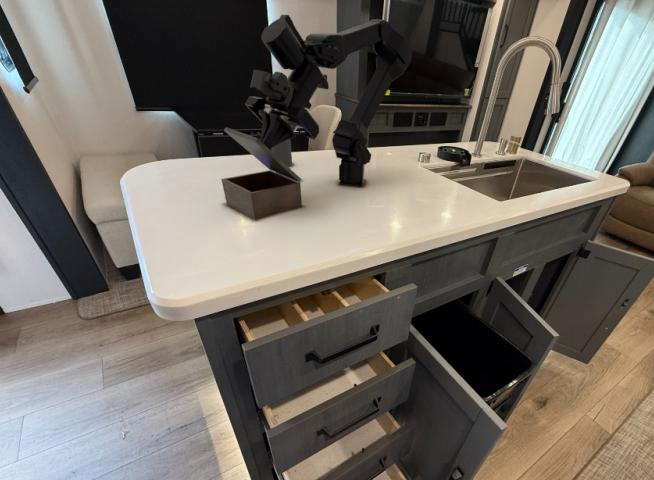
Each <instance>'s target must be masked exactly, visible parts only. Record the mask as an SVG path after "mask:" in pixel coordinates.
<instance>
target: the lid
mask: <svg viewBox="0 0 654 480" xmlns="http://www.w3.org/2000/svg"><path fill="white" fill-rule="evenodd" d="M223 131H224V132H225V133H226V134H227V135H228V136H230V137H231V138H232V139H233V140H234V141H236V143H238V144H239V145H240V146H241V147H242V148H244V149H245V150H246V151H247V152H248V153H249V154H251V155H252V156H253V157H254V158H255V159H257V161H259V162H260V163H261V164H262V165H263V166H265V168H267V169H268V170H271V171H274V172H277V173H279V174H282V175H284V176H286V177H289V178H291V179H294V180H296V181H298V182H301V180H302V178H301V177H300V176H299V175H298V174H296V172H294V171H293V170H292V169H291V168H290V166H289V167H288V166H287V165H286V164H285V163H283V162H282V161H281V160H280V159H279V158H278V157H277V156H276V155H275V154H274V153H273V152H272V150H271V149H268V148H267V147H266V146H265V145H264V144H263V143H262V142H261V141H260V138H258V137H255V136H252V135H249V134H247V133H244V132H240V131H239V130H235V129H233V128H230V127H225V128H224V130H223ZM298 176H299V177H298Z"/></svg>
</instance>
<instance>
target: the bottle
mask: <svg viewBox="0 0 654 480" xmlns="http://www.w3.org/2000/svg"><path fill="white" fill-rule="evenodd" d="M270 150H271V151H272V152H273V153H274V154H275V155H276V156H277V157H278V158H279V159H280V160H281V161H282V162H283V163H285V164H286V165H287V166H288V167H289V168H290V167H292V166H293V158H292V157H293V156H292V155H293V154H292V142H291V138H290V139H288V140H286V141H284V142H282V143H280V144H278V145H276V146H274V147H272V148H271V149H270Z"/></svg>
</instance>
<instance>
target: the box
mask: <svg viewBox="0 0 654 480" xmlns="http://www.w3.org/2000/svg"><path fill="white" fill-rule="evenodd" d="M240 175H241V176H240ZM240 175H235V176H231V177H223V178H221V185H222V189H223V195H224V198H225V202H226V205H227V206H230V208H232V209H234V210H236V211H238V212H240V213H242V215H243V214H244V216H246V217H249V218H250V219H252V220H253V221H257V220H260V219H265V218H268V217H271V216H274V215H275V216H276V215H278V214H283V213H285V212H289V211H292V210H295V209H299V208H302V207H303V200H302V187H301V186H302V185H301V181H299V182H298V181H295V180H293V179H291V178H288V177H286V176H283V175H281V174H279V173H276V172H274V171H272V170H270V169H268V170H263V171H258V172H252V173H247V174H240Z"/></svg>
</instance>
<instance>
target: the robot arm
mask: <svg viewBox="0 0 654 480" xmlns="http://www.w3.org/2000/svg"><path fill="white" fill-rule="evenodd" d="M261 41H262V43H263V44H264V46H265V47H266V48H267V50H268V51H269V52H270V53H271V55H272V56H273V57H274V58H275V60H276V62H277V63H278V64H279V66H280V67H281V68H282V69H283V70H290V71H291V72H290V74H289V75H288V76H287V75H286V74H285V73H283V72H280V71H274V73H273V74H272V73H270V72H267V71H265V70H258V69H253V73H252V77H251V81H250V82H251V83H250V86H249V87H250V88H251V89H252V90H254V91H258V92H259V93H261V94H263V95H264V96H266V98H262V97H258V96H248V98H247V99H246V101H245V103H244V105H245V106H246V108H247V109H248V110H249V111H251V113H252V114H253V115H254V116H255V118H257V119H258V120H259V121H260V122H261V123H262V128H261V133H260V138H259V140H260V141H261V142H262V143H263V144H264V145H265V146H266V147H267V148H268V149H270V150H271V148H272V147H274V146H276V145H278V144H280V143H282V142H284V141H286V140H288V139H290V140H291V139H292V138H296V137H297V134H296V131H297V130H298V129H300V128H303V129H304V136H305V138H307V139H311V140H313V141H316V138H317V137H318V136H319V134H320V125H319V124H318V123H317V121H316V119H314V118H313V116H312V114H311V113H310V112H309V111H308V110H310V109H311V107H312V106H313V104H312V103H311V102H310V101H311V99H312V98H313V97H314V94H315V93H316V91H317V90H318V89H322V90H329V89H330V87H329V86H330V85H329V81H328V75H327V74H324V73H323V72H322V71H321V70H320V68H322V69H328V70H329V69H330V70H334V69H336V68H338V67H339V66H341V65H342V64H343V63H344V62H345V61H346V60H347V57H348V56H350V55H351V54H354V53H356V52H358V51H361V50H363V49H365V48H368V47H370V46H372V50H373V52H374V53H375V54H376V57H375V66H376V68H375V71H374V73H373V75H372V76H371V78H370V80H369V82H368V85H367V86H366V88H365V90H364V92H363V95H362V96H361V97H360V100H359V102H358V103H357V106H356V107H355V109H354V110H353V113H352V115H351V117H350V118H349V119H347V120H346V119H340V120H339V121H338V123H337V126H336V128H335V129H334V130H333V132H332V134H333V136H332V139H331V141H332V147H333V150H334V153H335V156H336V157H335V158H336V159H340V164H339V166H338V180H339V185H343V186H351V187H359V188H361V187H363V186H364V183H365V181H366V179H365V166H366V165H367V164H369V163H370V162H371V158H372V154H371V152H370V150H369V149H368V147H367V144H368V128H369V126H370V124H371V123H372V120H373V118H374V117H375V115H376V113H377V111H378V109H379V108H380V105H381V103H382V102H383V100H384V97H385V96H386V94H387V92H388V90H389V89H390V86H391V84H392V83H393V82H394V81H395V80H396V79H398V78H399V77H400V76H402V75H403V74H404V73H405V71H406V70H407V68H408V67H409V66H410V63H411V61H412V58H413V51H412V50H413V49H412V48H411V45H410V43H409V42H408V41H407V40H406V39H405V37H404V36H403V35H401V34H400V33H399V32H398V31H396V30H395V29H394V28H393V27H392V26H391V24H390V23H389V22H388V21H387V20H386V19H374V18H373V19H370V20H369V21H367V22H365V23H361V24H359V25H356V26H353V27H351V28H348V29H345V30H341V31H339V32H333V33H330V32H329V33H328V32H324V33H323V32H322V33H318V32H317V33H316V32H315V33H310V34H308V35H307V36H306V37H305V40H304V39H303V37H302V36H301V33H300V32H299V31H298V29H297V28H296V26H295V24H294V22H293V20H292V17H291V16H290V15H289V14H280V16H279V18H278V19H276V20H273V22H271V23H270V24H269V25H268V26H267V25H266V27H265V28H264V29H263V31H262V33H261ZM270 104H271V105H270Z"/></svg>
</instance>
